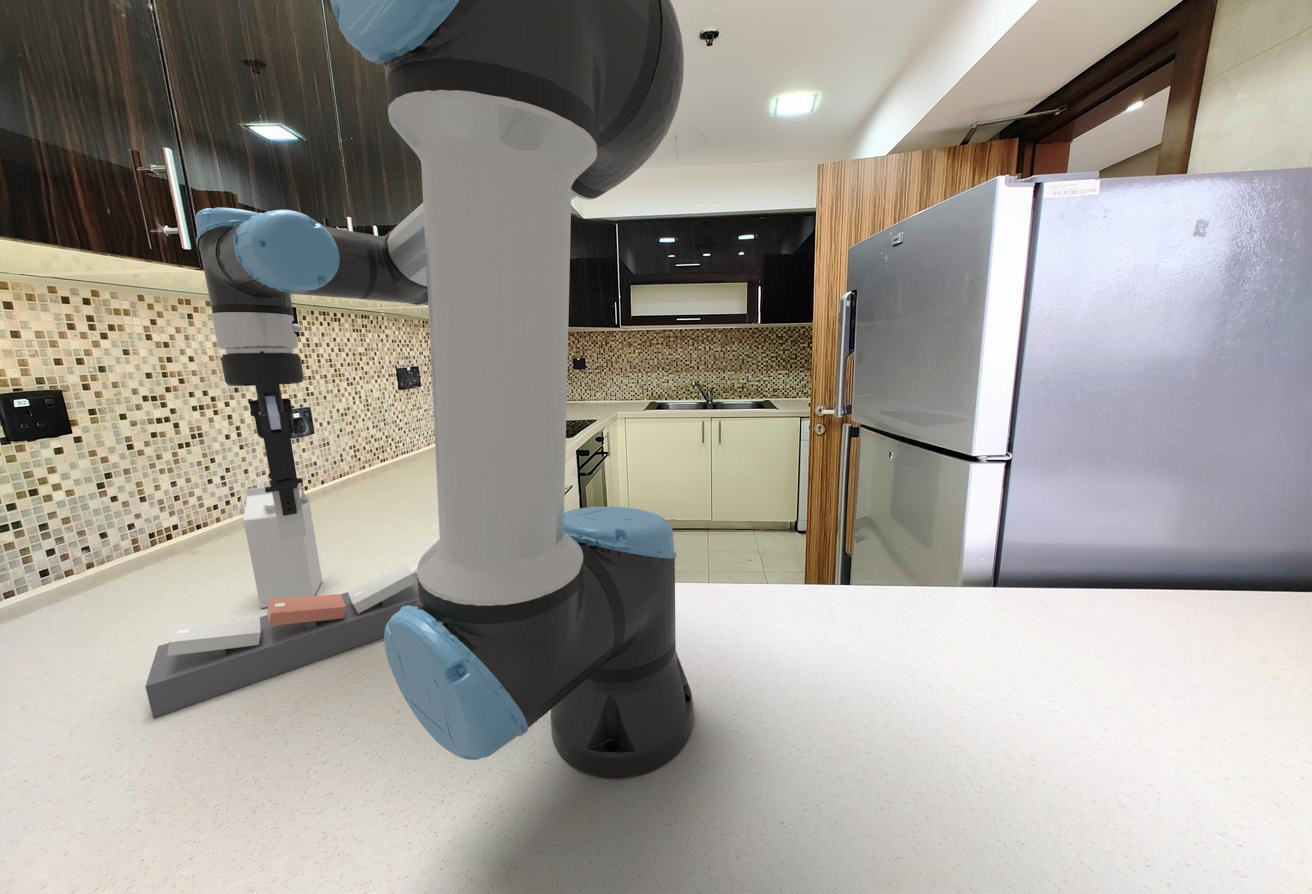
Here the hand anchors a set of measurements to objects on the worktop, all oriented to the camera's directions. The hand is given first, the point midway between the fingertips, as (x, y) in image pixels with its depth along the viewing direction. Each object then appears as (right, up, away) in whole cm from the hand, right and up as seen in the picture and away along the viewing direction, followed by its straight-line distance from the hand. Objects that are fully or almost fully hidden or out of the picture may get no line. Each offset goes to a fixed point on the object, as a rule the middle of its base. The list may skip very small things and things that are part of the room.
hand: (293, 536), depth 62 cm
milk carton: (-14, -14, +19) cm, 27 cm away
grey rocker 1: (-7, -11, -4) cm, 14 cm away
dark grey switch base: (+2, -15, +6) cm, 17 cm away
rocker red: (0, -10, +2) cm, 10 cm away
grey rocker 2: (+7, -9, +8) cm, 14 cm away
